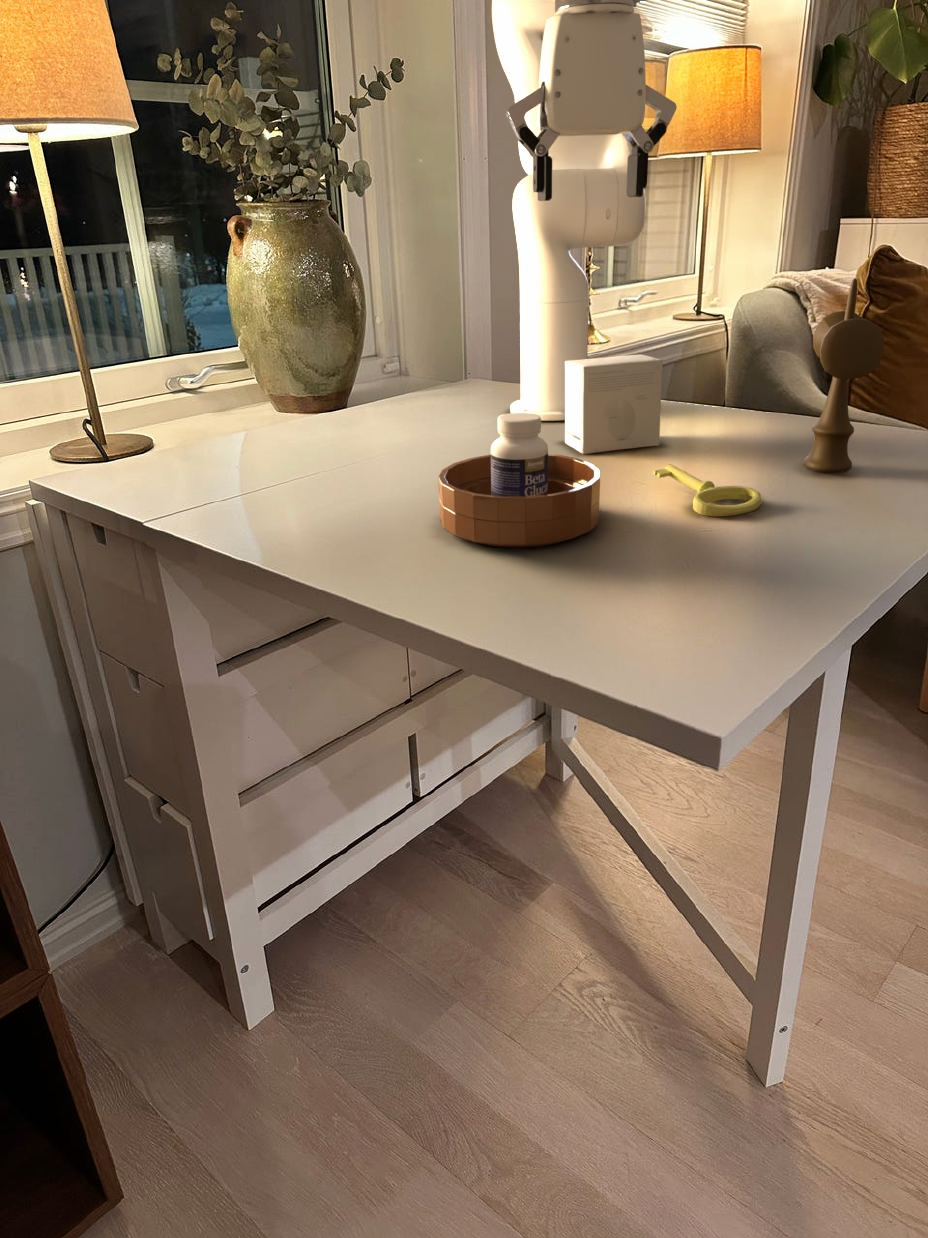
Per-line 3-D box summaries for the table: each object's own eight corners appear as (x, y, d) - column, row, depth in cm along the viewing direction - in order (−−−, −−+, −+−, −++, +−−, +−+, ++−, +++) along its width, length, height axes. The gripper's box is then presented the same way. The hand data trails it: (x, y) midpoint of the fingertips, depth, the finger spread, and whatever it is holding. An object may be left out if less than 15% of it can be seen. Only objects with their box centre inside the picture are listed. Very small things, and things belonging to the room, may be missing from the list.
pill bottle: (531, 530, 82) (531, 425, 78) (481, 521, 85) (478, 420, 81) (557, 513, 86) (558, 413, 82) (509, 505, 89) (507, 408, 85)
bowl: (431, 506, 92) (428, 459, 89) (572, 494, 94) (573, 447, 92) (455, 558, 78) (453, 504, 76) (620, 542, 80) (622, 489, 78)
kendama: (803, 481, 95) (829, 282, 86) (794, 457, 103) (817, 274, 95) (863, 483, 93) (896, 282, 85) (849, 459, 102) (878, 273, 93)
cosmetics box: (637, 434, 116) (642, 351, 111) (660, 446, 110) (665, 359, 105) (562, 442, 113) (563, 358, 109) (581, 454, 108) (583, 366, 103)
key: (666, 481, 97) (667, 462, 96) (769, 504, 88) (772, 484, 87) (625, 496, 92) (626, 477, 91) (730, 523, 84) (733, 501, 83)
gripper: (666, 6, 89) (656, 195, 96) (497, 8, 86) (500, 202, 94) (696, -10, 82) (683, 195, 89) (514, -9, 80) (516, 202, 87)
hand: (589, 198), depth 92 cm, fingers open, 9 cm apart
